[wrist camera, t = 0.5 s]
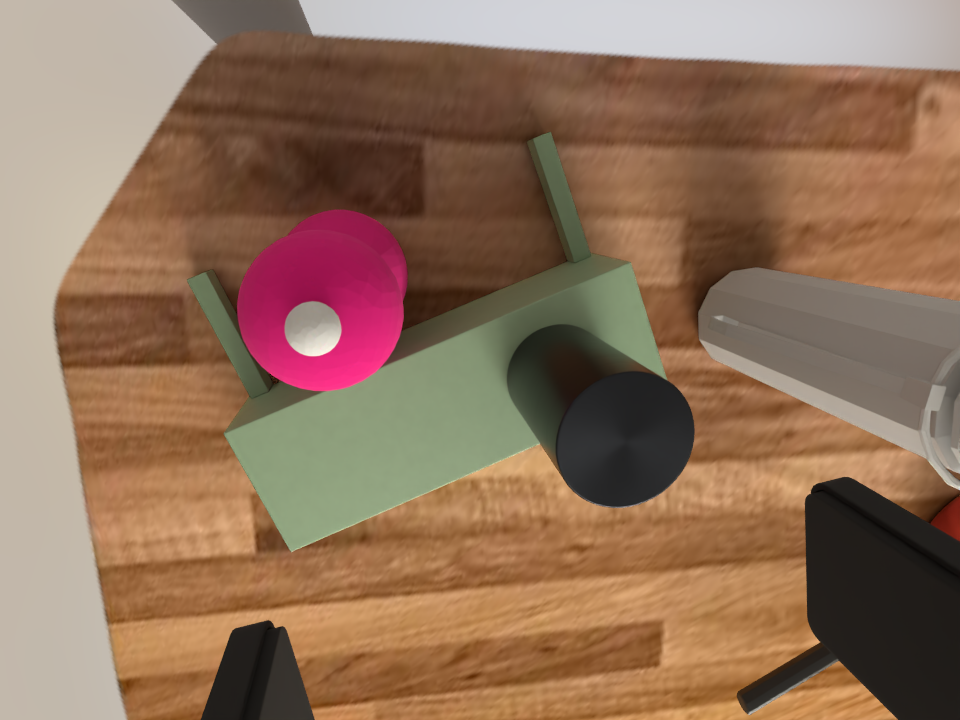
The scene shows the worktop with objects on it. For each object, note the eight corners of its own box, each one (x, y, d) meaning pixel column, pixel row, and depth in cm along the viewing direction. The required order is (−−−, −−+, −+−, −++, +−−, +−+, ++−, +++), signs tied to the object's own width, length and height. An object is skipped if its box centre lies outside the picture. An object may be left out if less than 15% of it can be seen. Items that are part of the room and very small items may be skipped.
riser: (188, 279, 36) (144, 295, 30) (549, 131, 37) (586, 116, 31) (305, 495, 41) (290, 552, 34) (624, 358, 42) (670, 387, 35)
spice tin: (491, 349, 33) (535, 407, 24) (589, 307, 33) (673, 348, 24) (527, 441, 35) (582, 530, 25) (621, 400, 35) (711, 473, 26)
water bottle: (797, 267, 42) (1334, 347, 18) (771, 373, 44) (1228, 572, 20) (678, 251, 41) (1098, 316, 17) (655, 362, 43) (1005, 564, 19)
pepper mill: (289, 202, 36) (184, 200, 17) (409, 216, 37) (437, 228, 18) (285, 320, 38) (185, 438, 19) (400, 329, 39) (416, 448, 20)
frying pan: (729, 727, 52) (775, 796, 46) (690, 613, 49) (734, 672, 42) (1049, 577, 54) (1134, 624, 48) (1035, 455, 50) (1125, 490, 44)
